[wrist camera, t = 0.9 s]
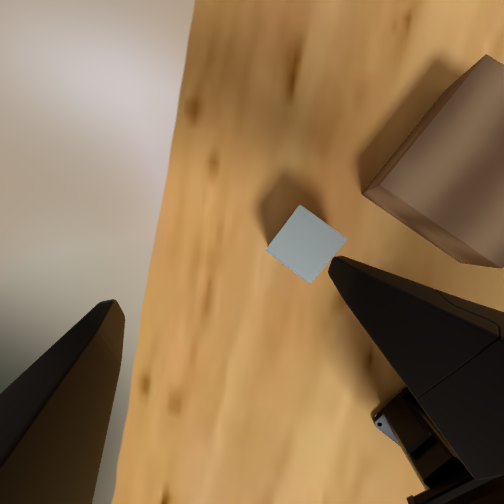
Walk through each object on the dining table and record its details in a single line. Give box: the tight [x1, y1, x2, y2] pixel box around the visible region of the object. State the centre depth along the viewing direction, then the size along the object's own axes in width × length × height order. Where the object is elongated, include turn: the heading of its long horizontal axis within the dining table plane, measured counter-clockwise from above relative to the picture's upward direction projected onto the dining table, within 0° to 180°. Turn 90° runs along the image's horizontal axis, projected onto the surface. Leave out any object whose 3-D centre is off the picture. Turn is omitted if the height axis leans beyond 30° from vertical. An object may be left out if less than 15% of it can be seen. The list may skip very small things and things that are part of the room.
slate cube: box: [265, 205, 347, 284], centre depth 19 cm, size 5×5×5 cm
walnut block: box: [362, 54, 504, 269], centre depth 17 cm, size 12×12×4 cm
